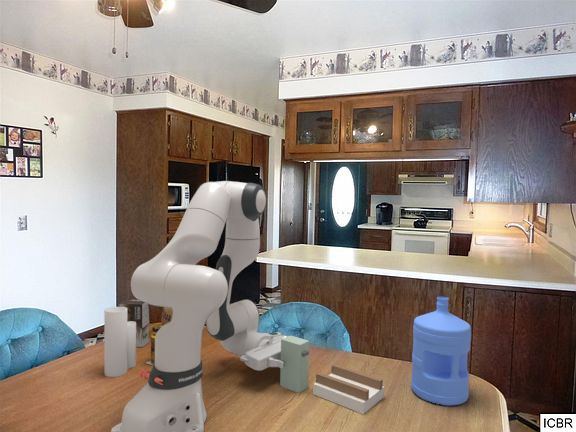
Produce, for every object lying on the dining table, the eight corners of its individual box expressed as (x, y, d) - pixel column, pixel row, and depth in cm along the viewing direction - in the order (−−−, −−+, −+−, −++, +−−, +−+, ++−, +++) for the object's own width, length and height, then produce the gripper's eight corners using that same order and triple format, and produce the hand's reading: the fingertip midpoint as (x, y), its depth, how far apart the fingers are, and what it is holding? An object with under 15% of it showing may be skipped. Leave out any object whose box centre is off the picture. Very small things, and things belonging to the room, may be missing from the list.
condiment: (145, 363, 133) (145, 328, 132) (161, 354, 141) (161, 320, 140) (163, 367, 130) (163, 331, 130) (178, 357, 138) (179, 323, 138)
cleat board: (363, 414, 104) (364, 393, 104) (313, 394, 114) (313, 375, 114) (384, 397, 114) (384, 378, 113) (336, 380, 124) (336, 362, 123)
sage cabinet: (300, 394, 114) (302, 345, 114) (280, 385, 119) (281, 339, 119) (310, 388, 118) (311, 341, 117) (289, 380, 123) (290, 335, 122)
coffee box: (150, 341, 153) (150, 299, 153) (142, 347, 147) (142, 304, 146) (127, 340, 154) (127, 298, 154) (118, 346, 148) (118, 302, 147)
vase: (120, 377, 122) (121, 313, 121) (98, 376, 123) (98, 311, 122) (138, 362, 133) (138, 303, 133) (118, 361, 134) (118, 302, 133)
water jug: (400, 383, 122) (403, 292, 121) (445, 378, 126) (449, 290, 125) (431, 409, 107) (435, 306, 106) (481, 403, 111) (485, 303, 110)
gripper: (236, 347, 119) (271, 359, 110) (280, 330, 135) (314, 340, 126) (235, 368, 119) (270, 382, 111) (280, 349, 135) (313, 360, 126)
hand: (294, 359), depth 119 cm, fingers open, 8 cm apart
